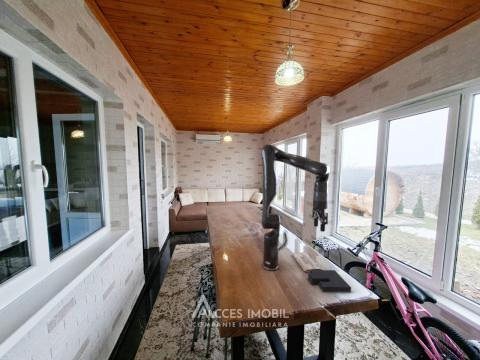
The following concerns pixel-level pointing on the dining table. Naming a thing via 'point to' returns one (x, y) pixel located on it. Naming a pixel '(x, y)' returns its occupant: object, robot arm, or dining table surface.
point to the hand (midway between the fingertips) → (319, 228)
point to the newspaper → (306, 262)
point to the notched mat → (333, 282)
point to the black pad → (317, 278)
